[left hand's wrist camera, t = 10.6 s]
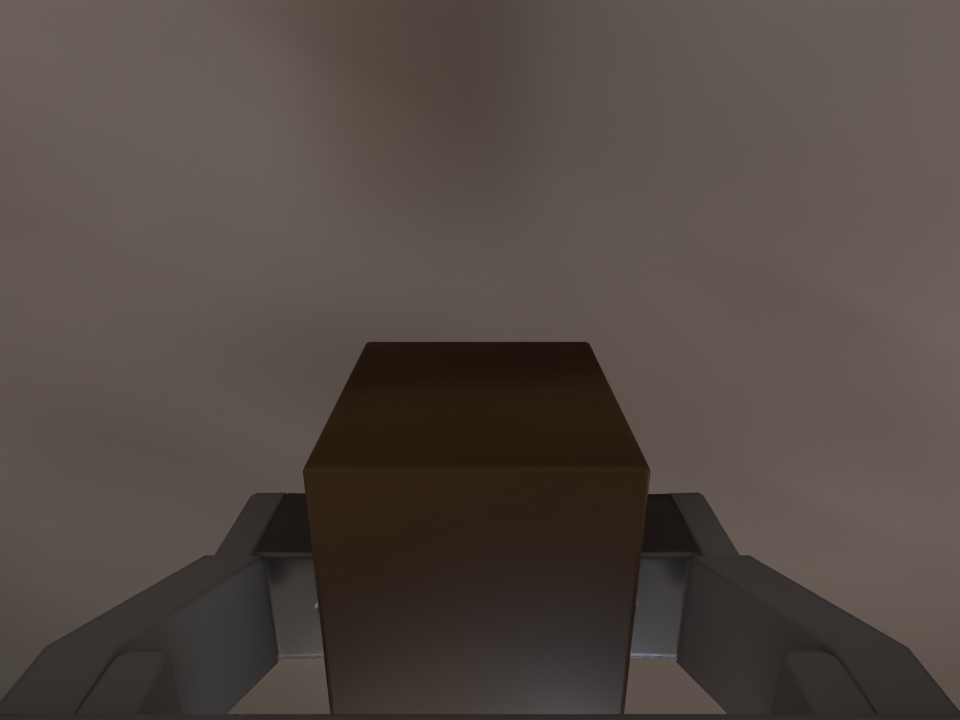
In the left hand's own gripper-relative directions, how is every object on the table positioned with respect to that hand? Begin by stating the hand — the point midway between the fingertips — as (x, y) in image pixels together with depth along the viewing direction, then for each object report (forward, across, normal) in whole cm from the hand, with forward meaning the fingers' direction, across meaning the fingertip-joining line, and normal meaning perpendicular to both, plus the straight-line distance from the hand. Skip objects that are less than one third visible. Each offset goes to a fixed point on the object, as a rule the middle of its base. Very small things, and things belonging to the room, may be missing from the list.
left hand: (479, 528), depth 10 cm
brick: (+2, 0, 0) cm, 2 cm away
